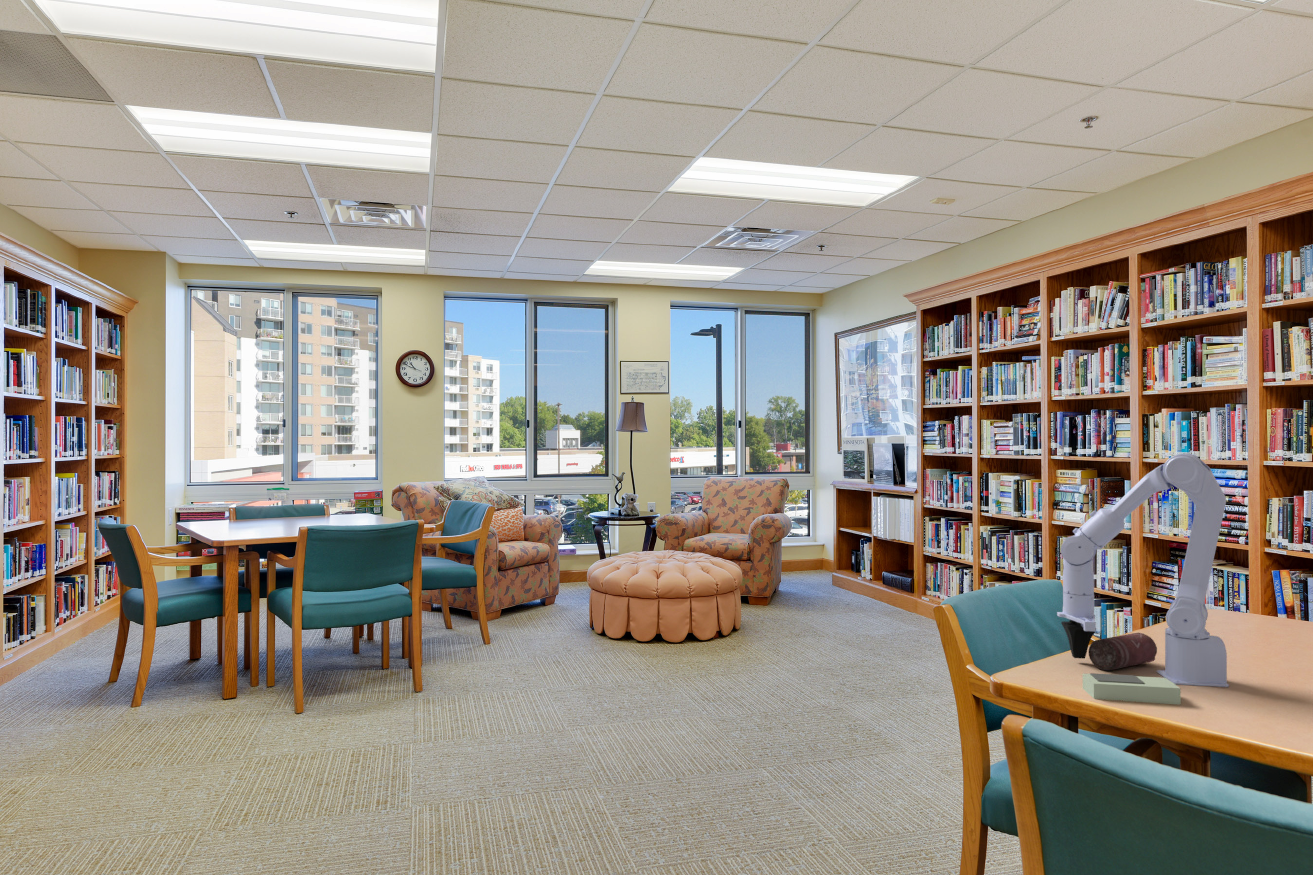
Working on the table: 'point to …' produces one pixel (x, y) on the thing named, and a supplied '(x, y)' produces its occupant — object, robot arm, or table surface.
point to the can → (1122, 651)
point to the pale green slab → (1131, 688)
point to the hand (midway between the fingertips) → (1078, 657)
